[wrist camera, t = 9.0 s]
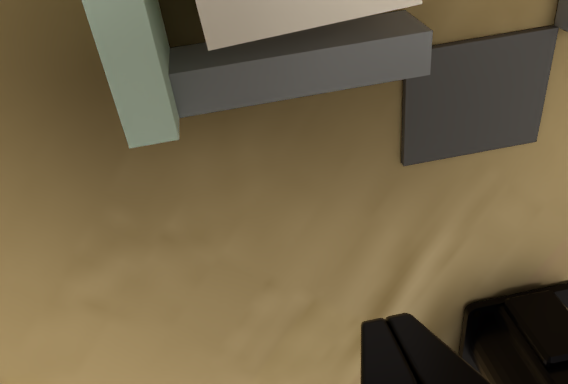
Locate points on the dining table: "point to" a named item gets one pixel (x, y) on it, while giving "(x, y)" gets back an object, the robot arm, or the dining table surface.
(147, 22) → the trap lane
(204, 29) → the block
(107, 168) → the dining table surface
